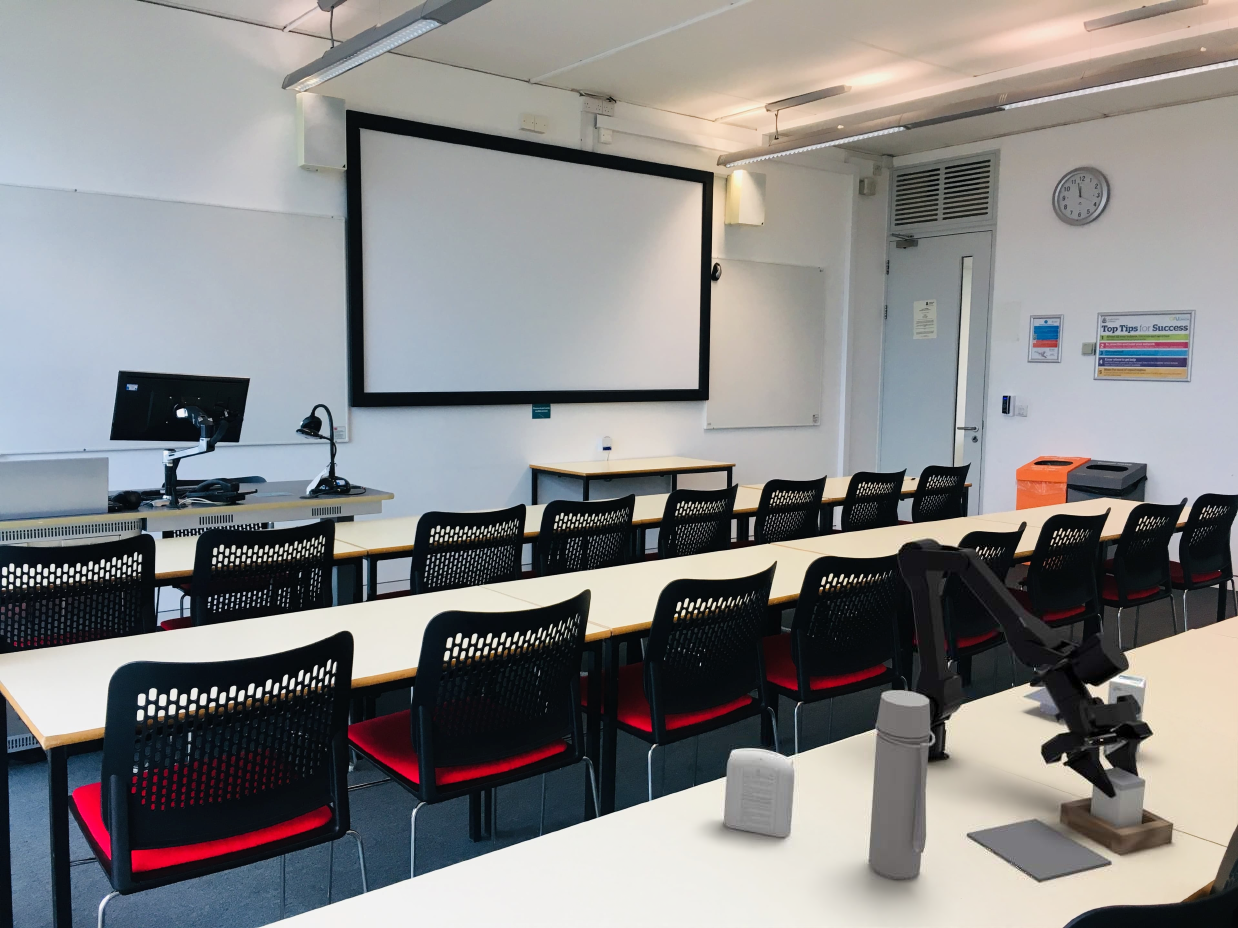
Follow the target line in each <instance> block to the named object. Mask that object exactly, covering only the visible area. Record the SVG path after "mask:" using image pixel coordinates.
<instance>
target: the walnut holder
mask: <svg viewBox="0 0 1238 928" xmlns="http://www.w3.org/2000/svg"><path fill="white" fill-rule="evenodd" d="M1091 801H1092V796H1090V797H1086V798H1082V799H1077V800H1071V801H1067V802H1066V801H1065V802H1061V804H1060V813H1059V814H1060V815H1059V823H1060V824H1061V823H1062V824H1063V825H1065V826H1067V827H1069V828H1070V829H1073V830H1074V831H1076V832H1078V833H1080V834H1081V835H1083V836H1084V837H1087V838H1089V839H1090V840H1092V841H1094V842H1096V843H1098V844H1100V845H1101V846H1103V847H1105V848H1107V849H1109V850H1110V851H1112V852H1114V853H1116V854H1118V855H1126V854H1129V853H1133V852H1137V851H1141V850H1145V849H1149V848H1153V847H1158V846H1161V845H1166V844H1170V843H1172V840H1173V829H1174V822H1171V821H1169V820H1167V819H1165V818H1163V817H1161V816H1160V815H1157V814H1155V813H1153V812H1151V811H1149V810H1146V809H1144V808H1143V810H1142V821H1141V825H1136V826H1132V827H1128V828H1123V829H1119V828H1117V827H1115V826H1113V825H1111V824H1109V823H1107V822H1105V821H1103V820H1102V819H1100V818H1098V817H1096V816H1094V815H1092V814H1090V812H1091Z"/></svg>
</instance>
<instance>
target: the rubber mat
mask: <svg viewBox="0 0 1238 928" xmlns="http://www.w3.org/2000/svg"><path fill="white" fill-rule="evenodd" d="M966 836H967V837H968V838H969V839H971V840H973V841H974V842H976V843H977V842H978V843H977V844H979V843H980V844H981V846H982V845H983V847H984V846H985V847H986V848H985V847H984V848H985V849H987V848H988V849H990V850H991V851H993V852H994V853H993V852H992V853H993V854H995V855H996V854H997V855H996V856H998V855H999V856H1001V857H1002V858H1004V859H1005V860H1004V859H1003V860H1004V861H1006V860H1007V861H1008V862H1007V861H1006V862H1007V863H1009V862H1010V863H1012V864H1013V865H1015V866H1017V867H1018V868H1019V869H1018V868H1017V867H1016V868H1017V869H1018V870H1020V869H1021V870H1022V871H1021V870H1020V871H1021V872H1023V871H1024V872H1026V873H1027V874H1026V873H1025V874H1026V875H1028V876H1029V875H1030V876H1029V877H1031V876H1032V877H1033V878H1032V877H1031V878H1032V879H1034V878H1035V879H1036V880H1035V879H1034V880H1035V881H1037V880H1038V881H1037V882H1039V881H1041V882H1045V881H1048V879H1049V880H1052V879H1051V878H1053V879H1056V877H1057V878H1061V877H1064V875H1065V876H1070V875H1073V874H1076V873H1077V874H1078V873H1081V872H1085V871H1088V870H1093V869H1097V868H1101V867H1104V866H1109V865H1112V860H1110V859H1109V858H1107V857H1104V856H1103V855H1101V854H1099V853H1098V852H1096V851H1094V850H1092V849H1090V848H1089V847H1087V846H1085V845H1083V844H1081V843H1080V842H1078V841H1076V840H1075V839H1073V838H1071V837H1069V836H1068V835H1066V834H1064V833H1063V832H1060V831H1059V830H1058V829H1055V828H1054V827H1052V826H1050V825H1048V824H1047V823H1044V822H1042V821H1041V820H1040V819H1037V818H1033V819H1028V820H1022V821H1017V822H1014V823H1009V824H1004V825H999V826H995V827H990V828H986V829H985V828H984V829H981V830H975V831H971V832H970V831H969V832H968V833H966ZM980 844H979V845H980ZM988 849H987V850H988ZM990 850H989V851H990ZM991 851H990V852H991ZM999 856H998V857H999ZM1001 857H1000V858H1001ZM1002 858H1001V859H1002ZM1010 863H1009V864H1010ZM1012 864H1011V865H1012ZM1013 865H1012V866H1013ZM1015 866H1014V867H1015ZM1024 872H1023V873H1024ZM1060 876H1061V877H1060ZM1044 880H1045V881H1044Z"/></svg>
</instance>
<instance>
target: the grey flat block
mask: <svg viewBox="0 0 1238 928" xmlns="http://www.w3.org/2000/svg"><path fill="white" fill-rule="evenodd" d="M726 764H727V765H726V779H725V780H726V781H725V791H724V792H725V793H724V796H725V797H724V811H723V813H724V814H723V824H724V826H725V827H728V828H732V829H737V830H740V831H745V832H752V833H757V834H761V835H766V836H772V837H779V838H787V837H788V836H790V834H791V833H792V832H791V831H792V819H793V818H792V817H793V805H794V804H793V802H794V788H795V769H794V762H793V759H791V758H789V757H787V756H786V755H784V754H780V753H778V752H774V751H772V750H767V749H763V748H751V747H750V748H748V747H747V748H738V749H737V748H736V749H732V750H731V752H730V754H729V758H728V760H727V763H726Z"/></svg>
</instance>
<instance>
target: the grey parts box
mask: <svg viewBox="0 0 1238 928" xmlns="http://www.w3.org/2000/svg"><path fill="white" fill-rule="evenodd" d="M1104 770H1105V772H1106V774H1107V776H1108V778H1109V780H1110V782H1111V784H1112V786H1113V788H1114V791H1115V793H1116V796H1115V797H1113V798H1109V797H1108V796H1107V795H1106V794H1104V793H1103V792H1102V791H1101V790H1099V789H1098V788H1097V787H1096V786H1094V785H1093V784H1092V792H1091V793H1092V794H1091V797H1092V801H1091V812H1090V814H1092V815H1094V816H1096V817H1098V818H1100V819H1102V820H1103V821H1105V822H1107V823H1109V824H1111V825H1113V826H1115V827H1117V828H1119V829H1123V828H1128V827H1132V826H1136V825H1141V821H1142V810H1143V809H1144V798H1145V789H1146V779H1144V778H1143V777H1138V776H1139V775H1138V776H1135V775H1133V774H1131V773H1129V772H1127V771H1125V770H1122V769H1120V768H1118V767H1116V768H1113V767H1112V768H1106V769H1105V768H1104Z"/></svg>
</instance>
